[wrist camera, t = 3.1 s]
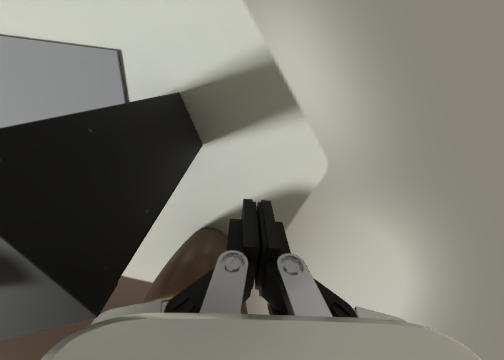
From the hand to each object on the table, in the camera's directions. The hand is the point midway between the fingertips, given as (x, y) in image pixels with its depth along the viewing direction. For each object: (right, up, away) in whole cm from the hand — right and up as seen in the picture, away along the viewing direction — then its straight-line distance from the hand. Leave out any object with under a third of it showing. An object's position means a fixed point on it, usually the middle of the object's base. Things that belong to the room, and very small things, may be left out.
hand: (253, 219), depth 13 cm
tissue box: (-13, +10, +17) cm, 23 cm away
